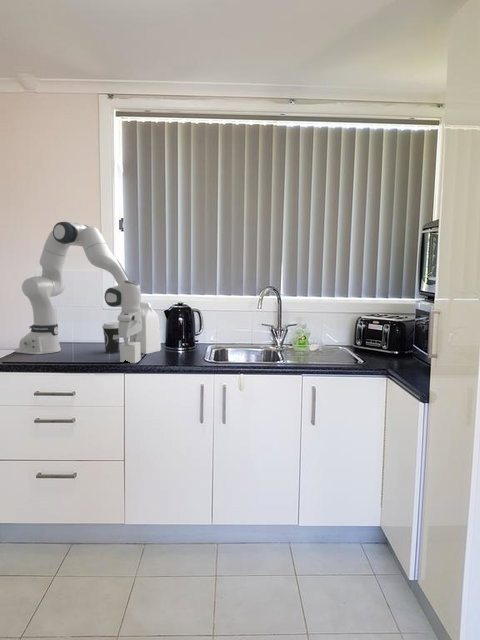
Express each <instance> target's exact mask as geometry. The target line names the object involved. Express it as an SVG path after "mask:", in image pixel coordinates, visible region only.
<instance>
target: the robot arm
mask: <svg viewBox="0 0 480 640" xmlns="http://www.w3.org/2000/svg"><path fill="white" fill-rule="evenodd" d="M43 245H44V246H43V249H42V252H41V255H40V258H39V265H40V267H41V269H42V271H41V272H42V273H41V275H39V276H32V277H29V278H26V279H24V280H23V282H22V284H21V291H22V293H23V294H24V296H25V297H27V299H28V300H29V302H30V305H31V308H32V312H33V313H32V314H33V324H31V325H30V326H28V327H29V328H28V329H30V332H28V333H27V334H26V335H25V336H23V337H21V339H20V340H19V345H18V348H15V349H14V353H19V354H20V353H21V354H30V355H42V354H52V353H58V352H61V351H62V348H61V345H60V341H59V335H58V334H59V324H58V319H57V318H58V317H57V308H56V307H55V306H54V305H53V303H52V301H51V298H52V297H54V298H55V297H56V296H58V295H61V294H63V292H64V291H65V288H66V286H65V285H66V284H65V281H64V280H63V274H62V273H63V267H64V263H65V260H66V256H67V253H68V251H69V248H70V246H74V247H75V246H77V247H82V249H83V251H84V255H85V257H86V258H87V260H88V262H89V263H90V264H91V265H92V266H94V267H95V268H98V269H99V268H100V269H102V270H103V271H106V272H108V273H109V274H111V275H112V276H113V279H114V280H115V282H116V283H117V285H115V286H112V287H108V288H106V290H105V292H104V301H105V303H106V305H108V306H109V307H111V308H119V307H121V312H120V313H119V315H118V316H117V321H118V323H119V324H118V331H119V336H120V337H119V339H120V338H122V339H123V343H124V342H125V346H129V342H130V336H132V335H133V339H132V342H137V337H138V333H139V332H141V331H142V320H141V308H140V302H142V301H141V299H142V298H141V297H142V296H141V295H142V292H141V286H140V283H139V282H137V281H135V280H130V277H128V274H127V273H126V271H125V269H124V267H123V266H122V264H121V262H120V261H119V260H118V259H117V258H116V256H115V255H113V253H112V252H111V250H110V248H109V246H108V244H107V242H106V240H105V238H104V236H103V234H102V233H101V232H100V231H99V229H98V228H97V227H95V226H88V225H86V224H81V223H77V222H69V221H59V222H57V223H55V224H54V226H53V228H52V230H51V231H50V233H49V234H48V236H47V238H46V240H45V243H44V244H43Z"/></svg>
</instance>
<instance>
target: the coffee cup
mask: <svg viewBox="0 0 480 640" xmlns="http://www.w3.org/2000/svg"><path fill="white" fill-rule="evenodd" d="M118 324H119V322H115V321H114V322H113V321H111V322H103V325H102V326H101V327H102V330H103V331H102V332H103V337H104V338H103V339H104V349H105V353H106V354H107V353H110V354H114V353H118V352H120V336H119V331H118Z"/></svg>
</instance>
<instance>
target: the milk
mask: <svg viewBox="0 0 480 640" xmlns="http://www.w3.org/2000/svg"><path fill="white" fill-rule="evenodd" d="M140 308H141V320H142V331H141V332H139V333H138V337H137V342H140V352H141V354H145V355H148V354H152V353H156V352H160V350H161V351H162V345H161V344H162V343H161V342H162V341H161V327H160V317H159V314H158V313H157V312H156V311H155V310H154V309H153V308H152V305H151V303H150V302H147V301H145V302H144V301H140ZM132 339H133V335H132V336H130V337H129V342H132Z"/></svg>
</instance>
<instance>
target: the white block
mask: <svg viewBox="0 0 480 640" xmlns="http://www.w3.org/2000/svg"><path fill="white" fill-rule="evenodd" d="M141 354H142V353H141V352H140V342H130V341H129V346H125V342H124V341H123V342H122V343H119V362H124V361H125V360H126V361H128V362H130V363H129V364H137V363H138V362H139V361H141V356H142V355H141Z"/></svg>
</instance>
